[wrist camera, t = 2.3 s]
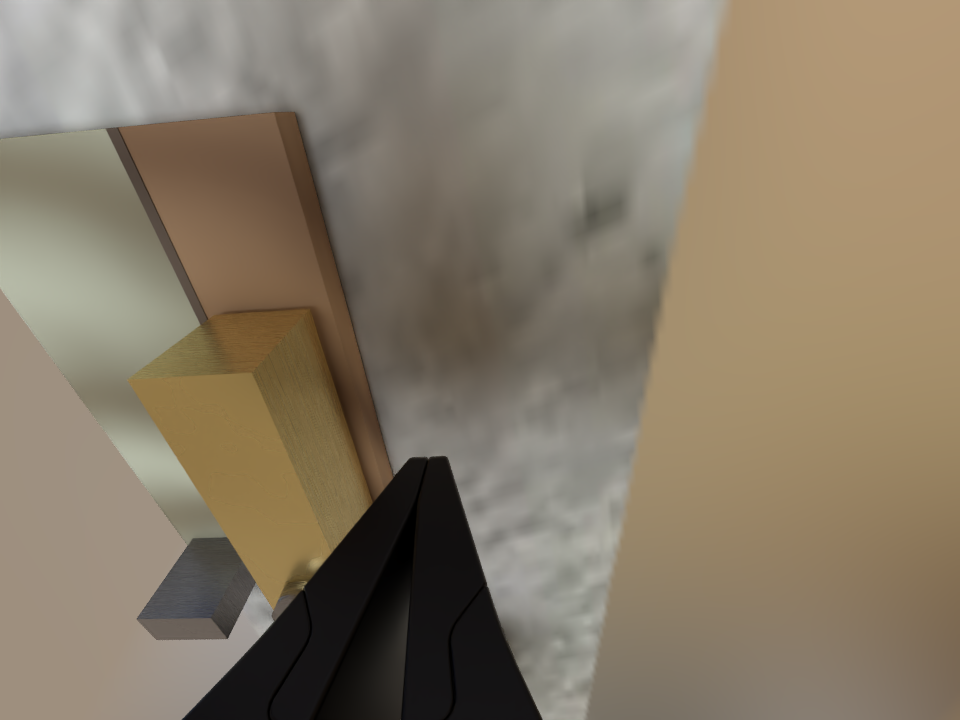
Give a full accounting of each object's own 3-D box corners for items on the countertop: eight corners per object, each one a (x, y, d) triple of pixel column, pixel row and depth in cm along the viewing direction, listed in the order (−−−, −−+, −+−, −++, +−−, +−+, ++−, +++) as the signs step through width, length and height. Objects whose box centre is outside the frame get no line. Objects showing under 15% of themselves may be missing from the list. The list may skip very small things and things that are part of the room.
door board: (409, 536, 20) (404, 560, 19) (215, 542, 21) (200, 565, 20) (294, 111, 11) (273, 112, 10) (-49, 145, 12) (-104, 149, 11)
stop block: (268, 557, 19) (227, 639, 16) (207, 559, 20) (156, 640, 17) (255, 536, 19) (210, 618, 16) (192, 538, 19) (136, 619, 16)
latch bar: (379, 523, 17) (349, 634, 14) (311, 526, 18) (263, 635, 14) (310, 308, 12) (233, 393, 9) (214, 314, 12) (98, 400, 9)
